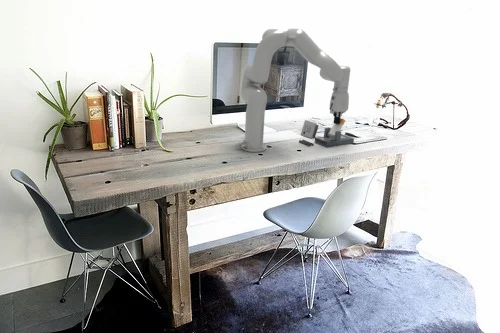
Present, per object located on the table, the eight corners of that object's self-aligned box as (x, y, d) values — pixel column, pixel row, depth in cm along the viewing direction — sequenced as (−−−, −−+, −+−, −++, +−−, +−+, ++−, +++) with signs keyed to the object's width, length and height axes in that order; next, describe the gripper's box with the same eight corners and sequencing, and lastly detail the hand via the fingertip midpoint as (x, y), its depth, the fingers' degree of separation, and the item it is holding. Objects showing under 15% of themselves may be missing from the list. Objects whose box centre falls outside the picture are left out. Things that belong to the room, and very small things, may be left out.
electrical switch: (300, 135, 228) (302, 119, 226) (306, 135, 231) (309, 119, 229) (311, 139, 221) (313, 123, 219) (317, 139, 224) (320, 123, 222)
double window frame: (326, 147, 206) (328, 133, 203) (314, 142, 214) (315, 129, 211) (353, 143, 216) (355, 129, 213) (340, 139, 224) (342, 125, 221)
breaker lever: (334, 138, 210) (344, 119, 209) (326, 135, 214) (336, 117, 214) (336, 139, 211) (346, 120, 210) (328, 136, 216) (338, 118, 215)
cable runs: (309, 146, 206) (309, 144, 206) (298, 142, 214) (298, 139, 213) (314, 146, 208) (314, 143, 208) (303, 141, 216) (303, 139, 215)
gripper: (335, 91, 198) (331, 126, 204) (355, 90, 206) (351, 123, 212) (325, 89, 204) (321, 123, 210) (345, 88, 212) (341, 120, 218)
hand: (336, 123), depth 211 cm, fingers closed
